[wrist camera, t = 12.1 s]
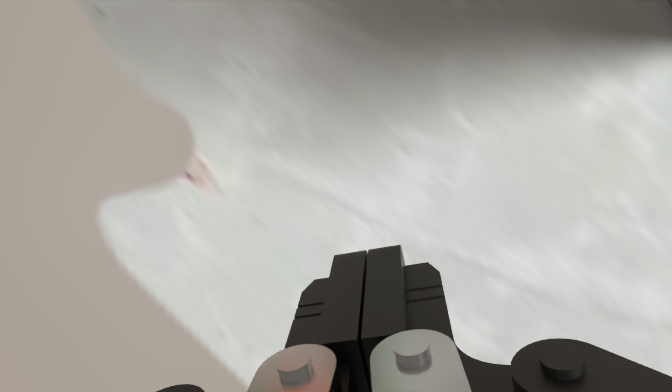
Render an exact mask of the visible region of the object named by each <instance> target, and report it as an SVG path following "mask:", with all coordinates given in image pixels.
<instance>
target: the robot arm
mask: <svg viewBox="0 0 672 392" xmlns="http://www.w3.org/2000/svg"><path fill="white" fill-rule="evenodd" d="M671 2H672V0H671ZM157 392H204V390H203V389H201V388H200V387H198V386H195V385H190V384H183V385H175V386H171V387H167V388H164V389H162V390H160V391H157ZM247 392H672V377H671V376H668V375H666V374H663V373H661V372H658V371H656V370H653V369H651V368H648V367H646V366H643V365H641V364H638V363H636V362H634V361H631V360H629V359H626V358H624V357H621V356H619V355H616V354H614V353H611V352H609V351H606V350H604V349H601V348H599V347H596V346H594V345H591V344H589V343H586V342H582V341H578V340H572V339H547V340H541V341H537V342H534V343H531V344H529V345H527V346H525V347H523V348H522V349H520V350H519V351H518V352H517V353H516V354H515V356H514V357H513V359H512V361H511V365H501V364H492V363H487V362H482V361H479V360H476V359H474V358H472V357H470V356H468V355H466V354H465V353H463V352H462V351H461V350H460V349H459V348H458V347H457V345H456V344H455V342H454V339H453V334H452V329H451V325H450V320H449V315H448V310H447V305H446V300H445V296H444V291H443V286H442V281H441V276H440V272H439V271H438V270H437V269H435V268H434V267H433V266H432V265H430V264H429V263H428V262H427V263H420V264H414V265H407V266H405V263H404V257H403V252H402V248H401V245H396V246H389V247H383V248H377V249H370V250H368V253H367V251H366V250H365V251H358V252H352V253H346V254H340V255H335V256H334V259H333V263H332V267H331V272H330V276H329V278H323V279H316V280H314V281H313V282H312V283H311V284H310V285H309V286H308V287H307V288H306V289H305V290H304V291H303V292H302V294H301V297H300V301H299V304H298V308H297V310H296V313H295V319H294V320H293V323H292V326H291V329H290V333H289V336H288V339H287V342H286V345H285V349H284V350H281V351H279V352H277V353H275V354H274V355H272V356H271V357H269V358H268V359H267V360H266V361H264V362H263V363H262V364H261V366H260V367H259V368H258V370H257V372H256V374H255V376H254V378H253V380H252V382H251V384H250V386H249V388H248V390H247Z"/></svg>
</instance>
